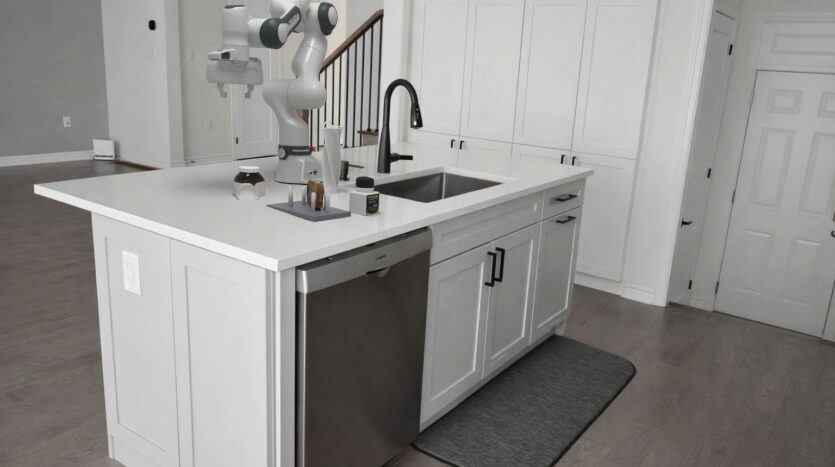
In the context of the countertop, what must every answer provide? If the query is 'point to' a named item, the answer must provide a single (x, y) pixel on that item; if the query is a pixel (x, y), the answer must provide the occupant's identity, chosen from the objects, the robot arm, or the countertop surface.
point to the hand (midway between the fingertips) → (236, 98)
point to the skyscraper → (331, 158)
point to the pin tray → (306, 211)
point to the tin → (319, 193)
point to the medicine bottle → (364, 197)
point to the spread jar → (249, 183)
